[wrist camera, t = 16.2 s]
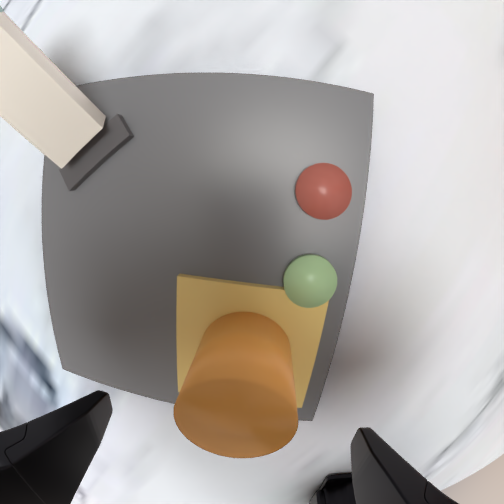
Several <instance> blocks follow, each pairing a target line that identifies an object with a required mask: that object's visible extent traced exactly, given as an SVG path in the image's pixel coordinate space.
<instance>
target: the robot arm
mask: <svg viewBox="0 0 504 504" xmlns="http://www.w3.org/2000/svg"><path fill="white" fill-rule="evenodd" d="M111 415H112V405H111V401H110V396H109V394H108V393H106V392H103V391H100V390H98V391H95V392H93V393H91V394H89V395H87V396H85V397H83V398H80V399H78V400H76V401H74V402H72V403H70V404H68V405H65V406H63V407H61V408H59V409H57V410H54V411H52V412H50V413H48V414H45V415H43V416H41V417H38V418H36V419H34V420H31V421H29V422H28V423H24V424H22V425H19V426H17V427H14V428H11V429H8V430H5V431H2V432H0V504H70V503H71V501H72V499H73V497H74V495H75V493H76V491H77V489H78V487H79V485H80V483H81V481H82V479H83V477H84V475H85V473H86V471H87V469H88V467H89V465H90V463H91V461H92V459H93V457H94V455H95V453H96V452H97V450H98V448H99V446H100V444H101V441H102V439H103V436H104V433H105V430H106V428H107V425H108V422H109V420H110V417H111ZM351 463H352V474H342V475H331V476H328V477H327V478H326V479H325V480H324V482H323V484H322V485H321V487H320V489H319V490H318V491H317V492H316V493H315V494H314V496H313V497H312V499H311V500H310V502H309V504H458V503H457V502H455V501H454V500H452V499H451V498H449V497H448V496H446V495H445V494H444V493H442V492H441V491H440V490H438V489H437V488H436V487H435V486H434V485H432V484H431V483H430V482H429V481H427V479H425V478H424V477H423V476H422V475H421V474H420V473H419V472H418V471H416V470H415V469H414V468H413V467H412V466H411V465H410V464H409V463H408V462H406V461H405V460H404V459H403V458H402V457H401V456H400V455H399V454H398V453H397V452H396V451H394V450H393V449H392V448H391V447H390V446H389V445H388V444H387V443H386V442H385V441H384V440H383V439H382V438H380V437H379V436H378V435H377V434H376V433H375V432H374V431H373V430H372V429H371V428H369V427H366V428H359V429H358V430H357V432H356V434H355V436H354V438H353V440H352V442H351Z"/></svg>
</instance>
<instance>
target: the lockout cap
mask: <svg viewBox="0 0 504 504" xmlns="http://www.w3.org/2000/svg"><path fill="white" fill-rule="evenodd" d="M174 419H175V422H176V425H177V426H178V428H179V430H180V431H181V432H182V434H183V435H184V436H185V437H186V438H187V439H188V440H190V441H191V442H192V443H194V444H195V445H197V446H198V447H200V448H202V449H204V450H206V451H209V452H211V453H214V454H217V455H221V456H226V457H232V458H253V457H260V456H264V455H267V454H270V453H273V452H275V451H277V450H279V449H281V448H282V447H284V446H285V445H286V444H288V443H289V442H290V441H291V440H292V438H293V437H294V435H295V433H296V431H297V428H298V413H297V403H296V394H295V384H294V375H293V366H292V357H291V348H290V343H289V339H288V337H287V335H286V333H285V332H284V330H283V329H282V328H281V327H280V326H279V325H278V324H277V323H276V322H275V321H273V320H272V319H270V318H268V317H266V316H264V315H261V314H257V313H253V312H234V313H230V314H226V315H224V316H222V317H220V318H218V319H216V320H215V321H214V322H212V323H211V324H210V325H209V327H208V328H207V329H206V331H205V333H204V335H203V337H202V339H201V342H200V344H199V347H198V349H197V351H196V354H195V356H194V359H193V361H192V363H191V366H190V368H189V371H188V373H187V375H186V378H185V380H184V383H183V385H182V388H181V390H180V392H179V395H178V397H177V400H176V402H175V405H174Z"/></svg>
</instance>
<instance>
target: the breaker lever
mask: <svg viewBox="0 0 504 504" xmlns="http://www.w3.org/2000/svg"><path fill="white" fill-rule="evenodd" d="M3 11H4V10H3V9H2V7H1V6H0V116H1V117H2V118H3V119H4V120H5V121H6V122H8V123H9V124H10V125H11V126H12V127H13V128H14V129H15V130H17V131H18V132H19V133H20V134H21V135H22V136H23V137H25V138H26V139H27V140H28V141H29V142H30V143H31V144H33V145H34V146H35V147H36V148H37V149H38V150H40V151H41V152H42V153H43V154H44V155H46V156H47V157H48V158H49V159H50V160H52V161H53V162H54V163H55V164H56V165H58V166H59V167H60V168H61V169H62V168H63V167H64V166H65V165H66V164H67V163H68V162H69V161H70V160H71V159H72V158H73V157H74V156H75V155H76V154H77V153H78V152H79V151H80V150H81V149H82V148H83V147H84V146H85V145H86V144H87V143H88V142H89V141H90V140H91V139H92V138H93V137H94V136H95V135H96V134H97V133H98V132H99V131H100V130H102V129H103V126H104V122H105V118H106V116H105V115H104V114H103V113H102V112H101V111H100V110H99V109H98V108H97V107H96V106H95V105H94V104H93V103H92V102H91V101H90V100H89V99H88V98H87V97H86V96H85V95H84V94H83V93H82V92H81V91H80V90H79V89H78V88H77V87H76V86H75V85H74V84H73V83H72V82H71V81H70V79H69V78H68V77H67V76H66V75H65V74H64V73H63V72H62V71H61V70H60V69H59V68H58V67H57V66H56V65H55V64H54V63H53V62H52V61H51V60H50V59H49V58H48V57H47V56H46V55H45V54H44V53H43V52H42V51H41V50H40V49H39V48H38V47H37V46H36V45H35V44H34V43H33V42H32V41H31V40H30V39H29V38H28V37H27V35H26V34H25V33H24V32H23V31H22V30H21V29H20V28H19V27H18V26H17V25H16V24H15V23H14V22H13V21H12V20H11V19H10V18H9V17H8V16H7V15H6V14H5V13H4V12H3Z"/></svg>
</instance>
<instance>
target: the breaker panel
mask: <svg viewBox="0 0 504 504" xmlns="http://www.w3.org/2000/svg"><path fill="white" fill-rule="evenodd" d="M76 87H77V88H78V89H79V90H80V91H81V92H82V93H83V94H84V95H85V96H86V97H87V98H88V99H89V100H90V101H91V102H92V103H93V104H94V105H95V106H96V107H97V108H98V109H99V110H100V111H101V112H102V113H103V114H104V115H105V116H106V118H105V122H104V126H103V129H102V130H100V131H99V132H98V133H97V134H96V135H95V136H94V137H93V138H92V139H91V140H90V141H89V142H88V143H87V144H86V145H85V146H84V147H83V148H82V149H81V150H80V151H79V152H78V153H77V154H76V155H75V156H74V157H73V158H72V159H71V160H70V161H69V162H68V163H67V164H66V165H65V166H64V167H63V168H62V169H61V168H60V167H59V166H58V165H56V164H55V163H54V162H53V161H52V160H50V159H49V158H48V157H47V156H46V155H44V166H43V182H42V243H43V259H44V270H45V279H46V288H47V295H48V302H49V308H50V314H51V320H52V325H53V330H54V335H55V340H56V344H57V348H58V353H59V357H60V360H61V364H62V368H63V369H64V370H67V371H69V372H72V373H74V374H77V375H80V376H82V377H85V378H88V379H90V380H93V381H96V382H99V383H102V384H105V385H108V386H111V387H114V388H117V389H121V390H124V391H127V392H131V393H134V394H138V395H141V396H145V397H149V398H153V399H157V400H161V401H165V402H169V403H173V404H175V402H176V400H177V397H178V395H179V392H180V390H181V388H182V385H183V383H184V380H185V378H186V375H187V373H188V371H189V368H190V366H191V363H192V361H193V359H194V356H195V354H196V351H197V349H198V347H199V344H200V342H201V339H202V337H203V335H204V333H205V331H206V329H207V328H208V327H209V325H210V324H211V323H212V322H214V321H215V320H216V319H218V318H220V317H222V316H224V315H226V314H230V313H234V312H253V313H257V314H261V315H264V316H266V317H268V318H270V319H272V320H273V321H275V322H276V323H277V324H278V325H279V326H280V327H281V328H282V329H283V330H284V332H285V333H286V335H287V337H288V339H289V343H290V348H291V357H292V366H293V375H294V384H295V394H296V403H297V413H298V420H303V421H312V420H313V417H314V414H315V412H316V409H317V406H318V403H319V400H320V397H321V394H322V391H323V387H324V384H325V381H326V378H327V374H328V371H329V368H330V364H331V361H332V357H333V354H334V350H335V347H336V343H337V339H338V335H339V332H340V328H341V324H342V320H343V316H344V311H345V307H346V303H347V298H348V294H349V289H350V285H351V280H352V275H353V270H354V265H355V260H356V254H357V249H358V243H359V237H360V231H361V225H362V218H363V212H364V205H365V197H366V189H367V181H368V172H369V162H370V150H371V138H372V122H373V99H374V94H373V93H369V92H365V91H360V90H356V89H352V88H347V87H342V86H337V85H332V84H327V83H321V82H315V81H309V80H302V79H295V78H287V77H278V76H268V75H256V74H239V73H173V74H157V75H145V76H135V77H127V78H119V79H112V80H105V81H99V82H94V83H88V84H83V85H78V86H76Z"/></svg>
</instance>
